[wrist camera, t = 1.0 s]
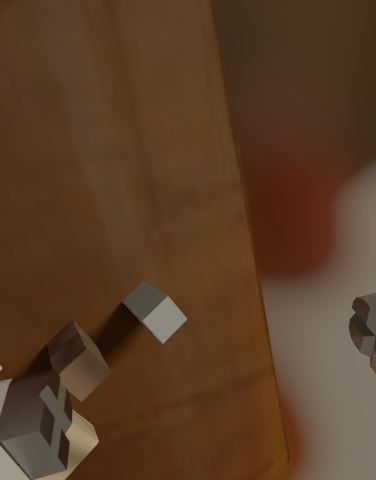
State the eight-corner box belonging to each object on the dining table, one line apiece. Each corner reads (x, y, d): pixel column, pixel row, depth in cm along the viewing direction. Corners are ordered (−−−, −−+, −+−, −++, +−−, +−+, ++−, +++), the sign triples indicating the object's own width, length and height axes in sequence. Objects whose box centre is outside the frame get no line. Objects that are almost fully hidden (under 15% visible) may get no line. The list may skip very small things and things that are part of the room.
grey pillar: (139, 321, 52) (162, 343, 44) (121, 301, 51) (142, 321, 43) (161, 300, 53) (187, 319, 45) (144, 280, 52) (167, 296, 44)
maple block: (49, 471, 49) (52, 492, 45) (6, 442, 46) (5, 462, 42) (93, 424, 51) (98, 441, 47) (54, 394, 48) (57, 410, 44)
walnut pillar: (68, 364, 48) (81, 401, 39) (46, 343, 47) (54, 378, 38) (93, 340, 49) (111, 372, 40) (72, 320, 48) (86, 348, 39)
